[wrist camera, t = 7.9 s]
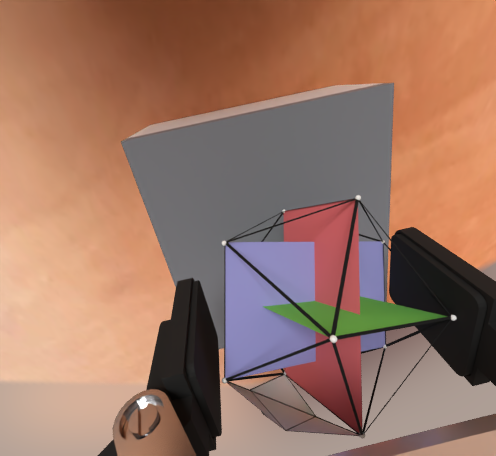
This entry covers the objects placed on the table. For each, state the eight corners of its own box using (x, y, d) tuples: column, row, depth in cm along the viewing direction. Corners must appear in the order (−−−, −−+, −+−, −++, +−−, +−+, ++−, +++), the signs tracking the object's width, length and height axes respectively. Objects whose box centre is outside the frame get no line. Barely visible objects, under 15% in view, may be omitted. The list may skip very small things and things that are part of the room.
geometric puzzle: (232, 126, 8) (344, 506, 4) (403, 155, 11) (573, 395, 7) (186, 253, 13) (212, 469, 9) (307, 251, 16) (369, 416, 12)
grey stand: (335, 85, 17) (394, 82, 11) (343, 256, 22) (386, 309, 17) (149, 125, 17) (120, 141, 11) (203, 288, 22) (200, 353, 16)
